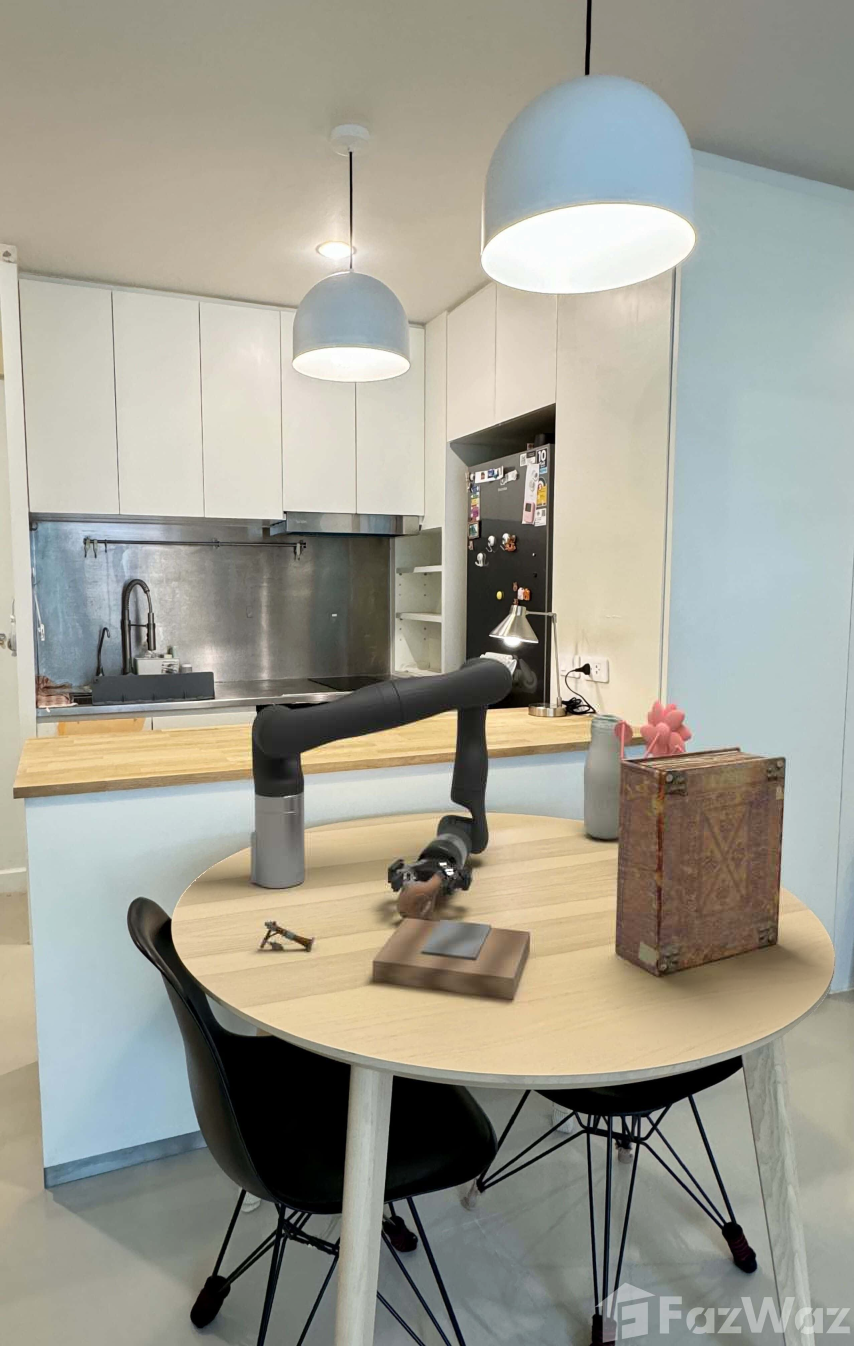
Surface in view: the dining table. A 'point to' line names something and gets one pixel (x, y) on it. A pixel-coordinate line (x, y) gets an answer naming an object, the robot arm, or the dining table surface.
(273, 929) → the wooden blunderbuss cannon
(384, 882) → the dining table surface
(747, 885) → the book
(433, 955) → the wooden block
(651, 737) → the pink flower ornament
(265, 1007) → the dining table surface
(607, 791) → the glass bottle
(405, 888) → the oil lamp
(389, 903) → the dining table surface
